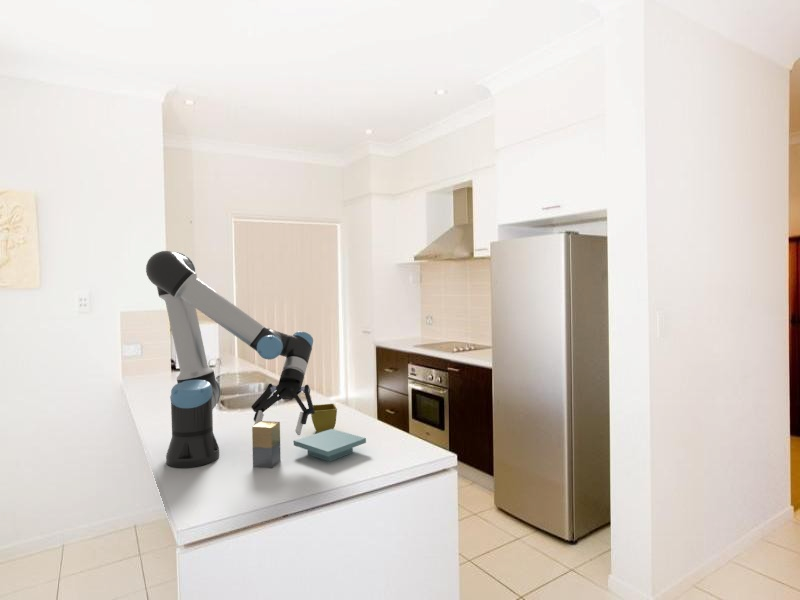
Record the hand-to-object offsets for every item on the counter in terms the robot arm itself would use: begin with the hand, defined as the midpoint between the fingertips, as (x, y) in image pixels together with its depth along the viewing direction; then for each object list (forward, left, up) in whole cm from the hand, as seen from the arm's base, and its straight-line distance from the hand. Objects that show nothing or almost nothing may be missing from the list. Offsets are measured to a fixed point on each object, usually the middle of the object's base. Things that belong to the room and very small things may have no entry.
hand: (276, 432), depth 154 cm
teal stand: (+8, +14, -9) cm, 19 cm away
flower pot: (-11, +28, -9) cm, 31 cm away
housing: (0, -4, -9) cm, 9 cm away
